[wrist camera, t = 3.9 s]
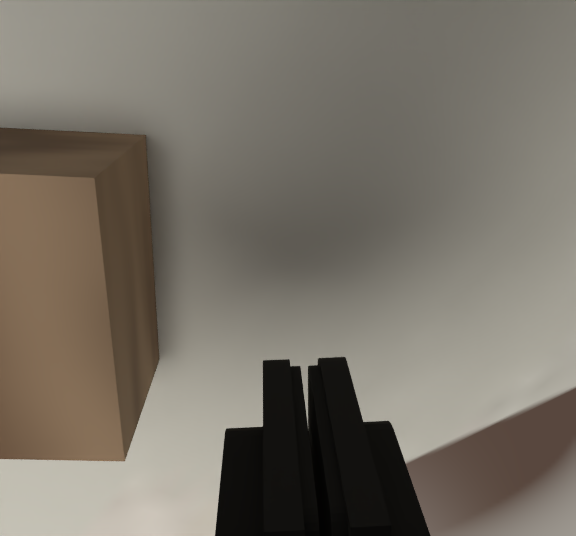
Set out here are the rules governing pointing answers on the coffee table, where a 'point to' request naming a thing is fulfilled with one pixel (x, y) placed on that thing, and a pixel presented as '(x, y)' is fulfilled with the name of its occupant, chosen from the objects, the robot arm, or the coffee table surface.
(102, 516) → the coffee table surface
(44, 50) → the coffee table surface
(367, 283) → the coffee table surface
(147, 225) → the walnut block
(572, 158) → the coffee table surface
